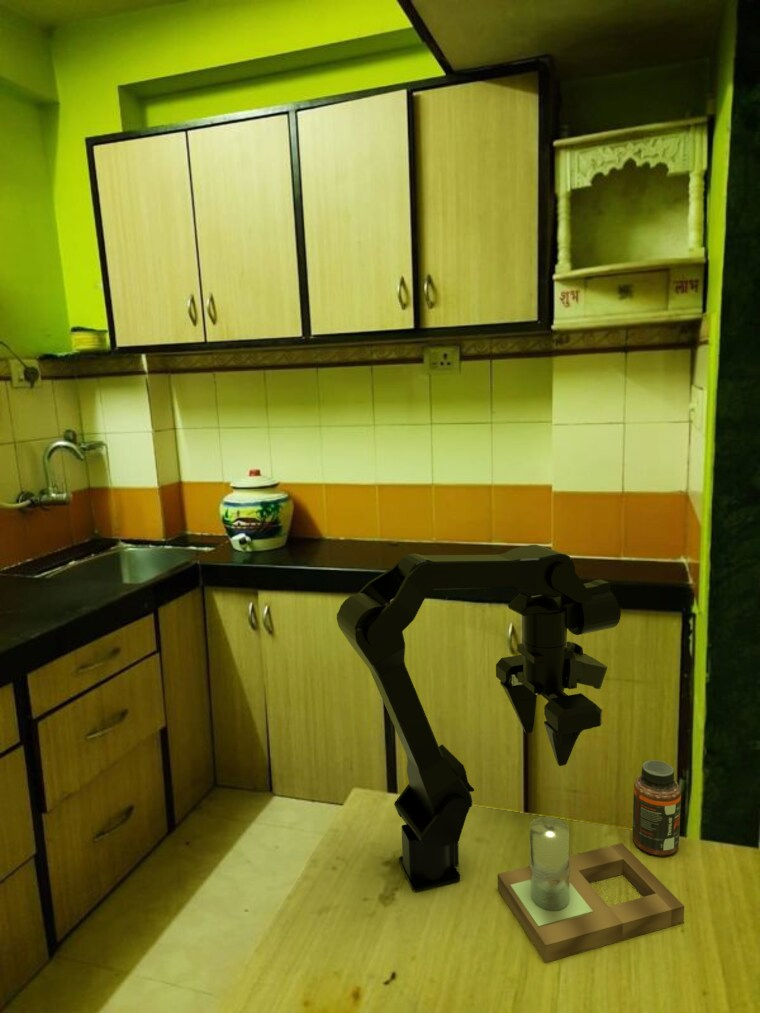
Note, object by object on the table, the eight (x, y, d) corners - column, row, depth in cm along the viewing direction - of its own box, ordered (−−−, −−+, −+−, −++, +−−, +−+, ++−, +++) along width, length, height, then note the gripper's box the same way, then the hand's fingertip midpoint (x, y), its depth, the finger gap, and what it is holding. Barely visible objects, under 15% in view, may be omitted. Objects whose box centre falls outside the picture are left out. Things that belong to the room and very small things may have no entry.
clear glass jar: (542, 914, 81) (541, 843, 80) (524, 888, 86) (522, 821, 84) (577, 905, 83) (576, 835, 81) (557, 880, 87) (556, 813, 85)
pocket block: (545, 962, 78) (545, 943, 77) (497, 889, 89) (497, 872, 89) (683, 922, 83) (684, 904, 82) (621, 857, 94) (622, 841, 94)
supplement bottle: (683, 860, 93) (686, 781, 91) (635, 856, 94) (637, 778, 92) (674, 832, 99) (677, 757, 97) (629, 828, 100) (631, 754, 98)
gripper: (640, 656, 88) (637, 772, 91) (562, 611, 105) (561, 709, 108) (560, 670, 85) (559, 789, 88) (493, 621, 103) (494, 721, 105)
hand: (544, 748), depth 97 cm, fingers open, 9 cm apart
